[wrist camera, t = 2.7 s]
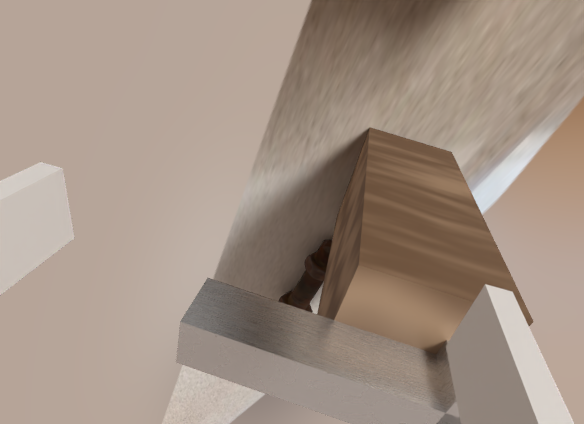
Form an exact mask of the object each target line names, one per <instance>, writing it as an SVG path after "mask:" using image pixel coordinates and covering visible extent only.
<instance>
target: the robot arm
mask: <svg viewBox="0 0 584 424" xmlns="http://www.w3.org/2000/svg"><path fill="white" fill-rule="evenodd" d="M73 239H74V232H73V226H72V220H71V215H70V208H69V202H68V196H67V190H66V184H65V178H64V173H63V168H60V167H57V166H53V165H50V164H46V163H42V162H40V163H38V164H35V165H33V166H31V167H29V168H27V169H25V170H23V171H20V172H18V173H16V174H14V175H12V176H10V177H7V178H5V179H3V180H1V181H0V295H1V294H3V293H4V292H5V291H7V290H8V289H9V288H10V287H12V286H13V285H14V284H16V283H17V282H18V281H20V280H21V279H22V278H24V277H25V276H26V275H27V274H29V273H30V272H31V271H33V270H34V269H35V268H37V267H38V266H39V265H40V264H42V263H43V262H44V261H46V260H47V259H48V258H50V257H51V256H52V255H53V254H55V253H56V252H57V251H59V250H60V249H61V248H63V247H64V246H65V245H66V244H68V243H69V242H70V241H72V240H73ZM446 350H447V355H448V360H449V365H450V371H451V376H452V381H453V386H454V391H455V396H456V401H457V406H458V411H459V416H460V421H461V424H574V422H573V420H572V418H571V416H570V414H569V411H568V409H567V407H566V405H565V403H564V401H563V399H562V396H561V394H560V392H559V390H558V388H557V386H556V384H555V382H554V379H553V377H552V375H551V373H550V371H549V369H548V367H547V365H546V362H545V360H544V358H543V356H542V354H541V352H540V350H539V347H538V346H537V343H536V341H535V339H534V337H533V335H532V332H531V330H530V328H529V326H528V324H527V322H526V319H525V317H524V315H523V313H522V311H521V309H520V307H519V305H518V302H517V300H516V298H515V296H514V294H513V292H512V291H508V290H505V289H501V288H497V287H494V286H490V285H486V284H485V285H484V287H483V288H482V290H481V291H480V293H479V295H478V296H477V298H476V299H475V301H474V302H473V304H472V306H471V307H470V309H469V310H468V312H467V314H466V315H465V317H464V318H463V320H462V321H461V323H460V325H459V326H458V328H457V329H456V331H455V333H454V334H453V336H452V337H451V339H450V340H449V342H448V344H447V345H446Z"/></svg>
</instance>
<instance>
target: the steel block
mask: <svg viewBox="0 0 584 424" xmlns="http://www.w3.org/2000/svg"><path fill="white" fill-rule="evenodd" d="M448 342H449V341H448V340H446V342H445V343H444V344H443V346H442V347H441V349H440V350H439V351H438V353H437V354H434V353H431V352H428V351H425V350H422V349H419V348H416V347H413V346H410V345H407V344H404V343H401V342H398V341H395V340H392V339H389V338H386V337H383V336H380V335H377V334H374V333H371V332H368V331H365V330H362V329H359V328H356V327H353V326H350V325H347V324H344V323H341V322H338V321H335V320H332V319H329V318H326V317H323V316H320V315H317V314H314V313H311V312H308V311H305V310H302V309H299V308H296V307H293V306H290V305H287V304H284V303H281V302H278V301H275V300H272V299H269V298H266V297H264V296H261V295H258V294H255V293H252V292H249V291H246V290H243V289H240V288H237V287H234V286H231V285H228V284H225V283H222V282H219V281H216V280H213V279H210V278H208V279H207V280H206V282H205V283H204V285H203V286H202V288H201V290H200V291H199V293H198V294H197V296H196V298H195V299H194V301H193V302H192V304H191V305H190V307H189V309H188V310H187V312H186V314H185V315H184V317H183V318H182V320H181V321H180V330H179V340H178V350H177V360H176V362H177V363H180V364H182V365H185V366H188V367H191V368H194V369H197V370H200V371H202V372H205V373H208V374H211V375H214V376H217V377H220V378H222V379H225V380H228V381H231V382H234V383H237V384H239V385H242V386H245V387H248V388H251V389H254V390H257V391H259V392H262V393H265V394H268V395H271V396H274V397H277V398H279V399H282V400H285V401H288V402H291V403H294V404H296V405H299V406H302V407H305V408H308V409H311V410H314V411H316V412H319V413H322V414H325V415H328V416H331V417H334V418H336V419H339V420H342V421H345V422H348V423H351V424H461V421H460V416H459V411H458V406H457V401H456V396H455V391H454V386H453V381H452V376H451V371H450V365H449V360H448V355H447V350H446V345H447V344H448Z"/></svg>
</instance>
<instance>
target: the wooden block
mask: <svg viewBox="0 0 584 424" xmlns="http://www.w3.org/2000/svg"><path fill="white" fill-rule="evenodd" d="M485 284H486V285H490V286H494V287H497V288H501V289H505V290H508V291H512V292H513V294H514V296H515V298H516V300H517V302H518V305H519V307H520V309H521V311H522V313H523V315H524V317H525V319H526V322H527V324H528V326H530V325H531V324H532V323H533V320H532V318H531V316H530V314H529V312H528V310H527V308H526V305H525V303H524V301H523V299H522V297H521V295H520V293H519V291H518V289H517V287H516V285H515V282H514V280H513V278H512V277H511V274H510V272H509V270H508V268H507V266H506V264H505V262H504V260H503V258H502V256H501V253H500V252H499V249H498V247H497V245H496V243H495V241H494V239H493V237H492V235H491V233H490V231H489V229H488V227H487V225H486V222H485V220H484V218H483V216H482V214H481V212H480V210H479V208H478V206H477V204H476V202H475V200H474V198H473V195H472V193H471V191H470V189H469V187H468V185H467V183H466V181H465V179H464V177H463V175H462V173H461V171H460V169H459V166H458V164H457V162H456V160H455V158H454V156H453V154H452V152H449V151H446V150H443V149H439V148H436V147H433V146H430V145H426V144H423V143H420V142H416V141H413V140H410V139H406V138H403V137H400V136H396V135H393V134H390V133H387V132H383V131H380V130H377V129H373V128H369V131H368V134H367V137H366V139H365V142H364V145H363V147H362V150H361V153H360V156H359V158H358V161H357V164H356V167H355V169H354V172H353V175H352V177H351V180H350V183H349V186H348V188H347V191H346V194H345V197H344V199H343V202H342V205H341V207H340V210H339V213H338V216H337V219H336V224H335V229H334V234H333V239H332V244H331V249H330V254H329V259H328V264H327V269H326V274H325V279H324V284H323V289H322V294H321V299H320V304H319V309H318V314H317V315H320V316H323V317H326V318H329V319H332V320H335V321H338V322H341V323H344V324H347V325H350V326H353V327H356V328H359V329H362V330H365V331H368V332H371V333H374V334H377V335H380V336H383V337H386V338H389V339H392V340H395V341H398V342H401V343H404V344H407V345H410V346H413V347H416V348H419V349H422V350H425V351H428V352H431V353H434V354H437V353H438V351H439V350H440V349H441V347H442V346H443V344H444V343H445V342H446V340H448V341H449V340H450V339H451V337H452V336H453V334H454V333H455V331H456V329H457V328H458V326H459V325H460V323H461V321H462V320H463V318H464V317H465V315H466V314H467V312H468V310H469V309H470V307H471V306H472V304H473V302H474V301H475V299H476V298H477V296H478V295H479V293H480V291H481V290H482V288H483V287H484V285H485Z"/></svg>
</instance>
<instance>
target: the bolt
mask: <svg viewBox="0 0 584 424" xmlns="http://www.w3.org/2000/svg"><path fill="white" fill-rule="evenodd" d="M331 244H332V240H324V241H323V243H322V245H321V246H320V248H319V250H318V251H317V252H315V253H312V254H311V255H309V256H308V257H307V259H306V260H305V267H306V271H305V273H304V275H303V276H302V278H301V279H300V281H299V283H298V285H297V286H296V288H295V289H294V291H290V292H288V293H287V294H285V295H283V296H281V298H280V299H279V302H281V303H284V304H287V305H290V306H293V307H296V308H299V309H302V310H305V311H308V312H311V313H312V309H311V306H310V301H311V300H312V298H313V297H314V295H315V294H316V292H317V291H318V289H319V288H320V286H321V284H322V283H323V281H324V279H325V274H326V269H327V264H328V259H329V254H330V249H331Z"/></svg>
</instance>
